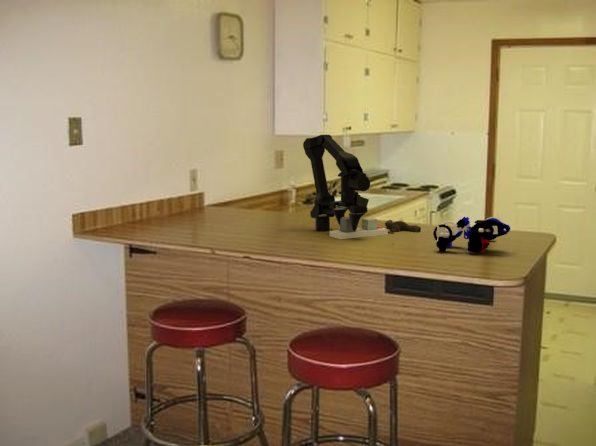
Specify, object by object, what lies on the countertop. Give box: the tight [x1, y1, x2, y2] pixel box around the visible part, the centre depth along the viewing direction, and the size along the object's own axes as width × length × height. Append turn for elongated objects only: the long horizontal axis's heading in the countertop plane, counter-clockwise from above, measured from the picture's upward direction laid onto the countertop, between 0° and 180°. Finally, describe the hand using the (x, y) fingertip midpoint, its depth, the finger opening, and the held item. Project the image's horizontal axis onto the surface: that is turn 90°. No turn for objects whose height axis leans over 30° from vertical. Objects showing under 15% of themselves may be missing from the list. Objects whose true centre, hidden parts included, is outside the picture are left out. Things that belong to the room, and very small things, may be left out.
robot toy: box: [432, 216, 511, 253], centre depth 241 cm, size 16×12×25 cm
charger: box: [339, 216, 356, 233], centre depth 267 cm, size 4×4×7 cm
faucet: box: [384, 219, 422, 235], centre depth 279 cm, size 5×17×15 cm
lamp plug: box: [361, 217, 378, 231], centre depth 272 cm, size 4×4×6 cm
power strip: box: [329, 225, 389, 240], centre depth 270 cm, size 22×8×4 cm, turn 118°
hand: (348, 229), depth 267 cm, fingers open, 9 cm apart
